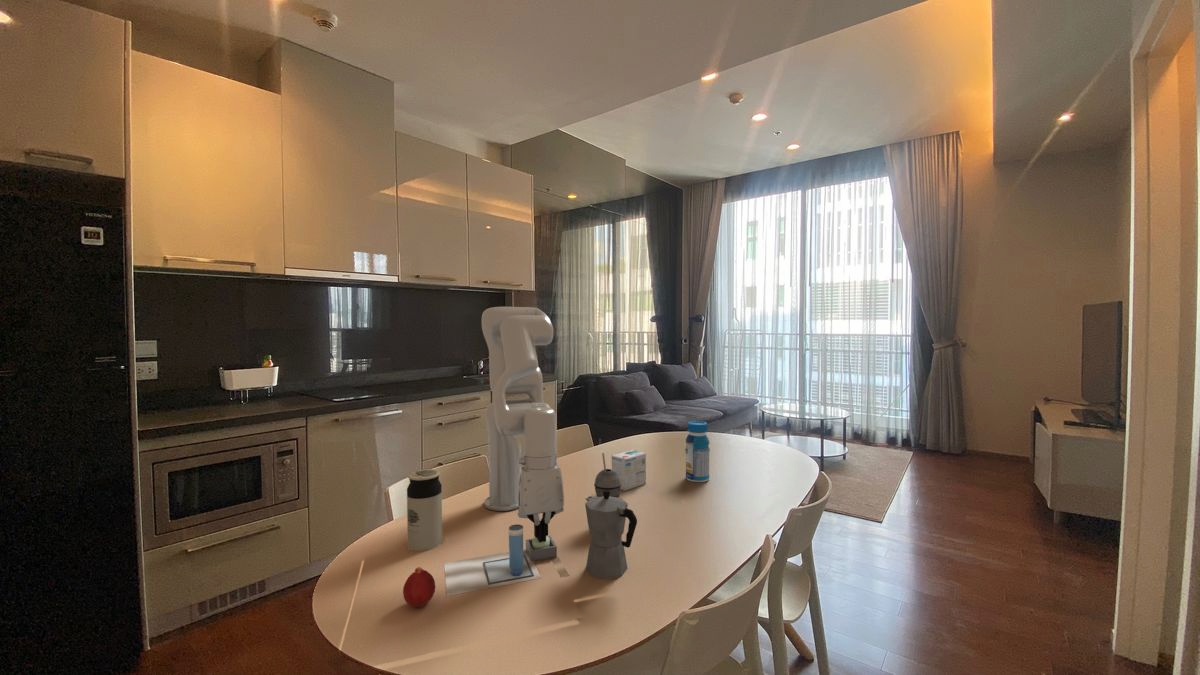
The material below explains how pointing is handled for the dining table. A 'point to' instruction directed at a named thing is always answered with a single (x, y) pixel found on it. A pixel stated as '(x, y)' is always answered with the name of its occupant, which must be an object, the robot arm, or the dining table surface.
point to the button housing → (541, 551)
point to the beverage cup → (607, 482)
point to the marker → (516, 549)
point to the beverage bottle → (697, 452)
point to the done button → (540, 543)
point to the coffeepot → (608, 535)
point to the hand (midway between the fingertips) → (541, 539)
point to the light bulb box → (630, 468)
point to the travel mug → (424, 510)
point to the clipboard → (490, 572)
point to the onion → (419, 588)
